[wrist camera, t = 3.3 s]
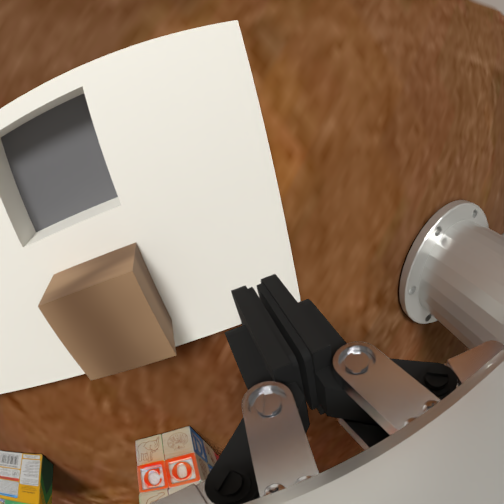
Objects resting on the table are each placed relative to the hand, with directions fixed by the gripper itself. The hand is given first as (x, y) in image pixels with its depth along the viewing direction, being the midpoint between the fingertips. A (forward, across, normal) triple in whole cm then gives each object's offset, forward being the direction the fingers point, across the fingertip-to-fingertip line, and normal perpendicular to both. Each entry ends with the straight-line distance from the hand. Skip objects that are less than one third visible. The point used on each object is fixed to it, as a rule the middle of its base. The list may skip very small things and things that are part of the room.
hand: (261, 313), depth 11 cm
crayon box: (+9, +30, +18) cm, 36 cm away
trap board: (+8, +12, -3) cm, 15 cm away
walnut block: (+6, +6, 0) cm, 9 cm away
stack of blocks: (+8, +10, +28) cm, 31 cm away
